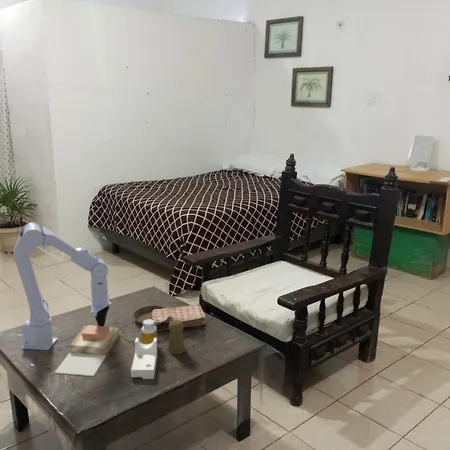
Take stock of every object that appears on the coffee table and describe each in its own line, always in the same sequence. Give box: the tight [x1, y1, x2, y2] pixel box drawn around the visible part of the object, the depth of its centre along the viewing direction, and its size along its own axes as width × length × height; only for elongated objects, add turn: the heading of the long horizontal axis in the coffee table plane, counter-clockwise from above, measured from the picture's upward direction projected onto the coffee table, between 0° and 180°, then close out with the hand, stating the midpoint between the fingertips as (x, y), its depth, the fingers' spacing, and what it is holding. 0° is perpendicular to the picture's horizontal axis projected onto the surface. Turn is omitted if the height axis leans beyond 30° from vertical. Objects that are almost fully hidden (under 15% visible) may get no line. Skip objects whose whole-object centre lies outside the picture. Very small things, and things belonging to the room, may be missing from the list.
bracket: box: [130, 337, 158, 380], centre depth 162 cm, size 13×7×8 cm, turn 3°
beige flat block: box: [69, 325, 120, 356], centre depth 176 cm, size 13×14×3 cm
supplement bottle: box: [140, 319, 158, 345], centre depth 174 cm, size 5×5×10 cm
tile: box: [82, 324, 110, 340], centre depth 177 cm, size 8×6×2 cm
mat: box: [54, 352, 107, 377], centre depth 164 cm, size 13×12×1 cm
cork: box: [167, 319, 186, 355], centre depth 172 cm, size 6×6×11 cm
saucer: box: [132, 305, 166, 326], centre depth 195 cm, size 15×15×3 cm
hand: (101, 325), depth 182 cm, fingers closed
